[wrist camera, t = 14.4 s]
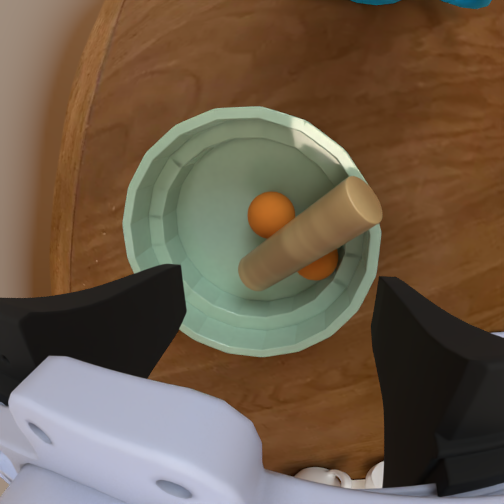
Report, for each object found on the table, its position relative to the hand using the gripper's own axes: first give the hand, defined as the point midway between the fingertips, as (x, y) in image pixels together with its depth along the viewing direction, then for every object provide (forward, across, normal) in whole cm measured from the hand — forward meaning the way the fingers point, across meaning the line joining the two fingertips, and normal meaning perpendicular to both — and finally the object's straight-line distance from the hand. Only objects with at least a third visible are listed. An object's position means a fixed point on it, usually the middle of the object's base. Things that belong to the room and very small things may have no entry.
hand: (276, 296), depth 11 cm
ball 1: (+8, +1, -1) cm, 8 cm away
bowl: (+10, +3, 0) cm, 11 cm away
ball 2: (+8, -1, +2) cm, 9 cm away
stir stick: (+8, +2, +3) cm, 9 cm away
